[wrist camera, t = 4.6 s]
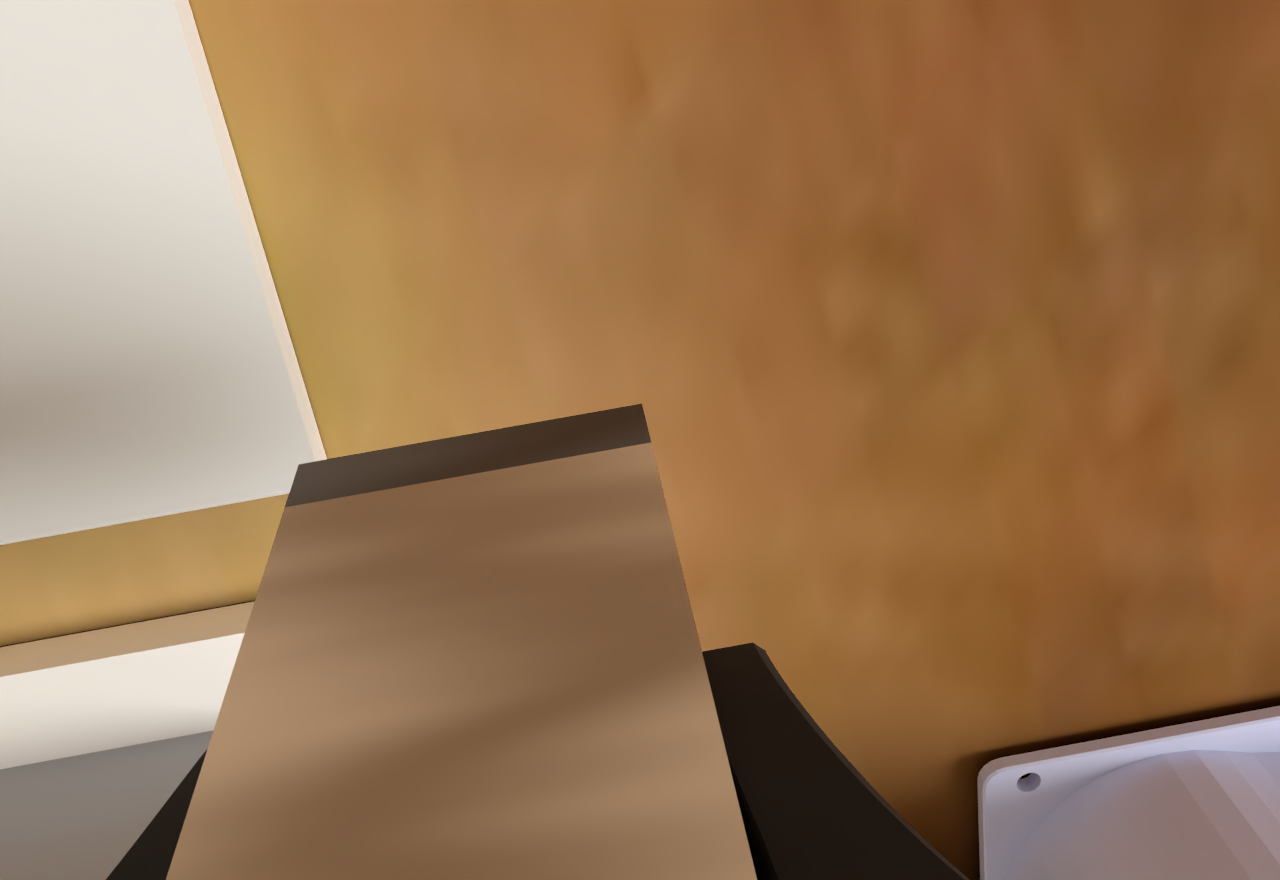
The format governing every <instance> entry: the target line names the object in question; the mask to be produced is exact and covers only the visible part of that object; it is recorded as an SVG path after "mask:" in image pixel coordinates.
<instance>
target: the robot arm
mask: <svg viewBox="0 0 1280 880" xmlns="http://www.w3.org/2000/svg"><path fill="white" fill-rule="evenodd" d="M702 654H703V658H704V663H705V667H706V671H707V675H708V679H709V683H710V687H711V691H712V696H713V700H714V704H715V708H716V712H717V716H718V720H719V724H720V728H721V733H722V737H723V741H724V745H725V749H726V753H727V757H728V761H729V766H730V770H731V774H732V778H733V782H734V786H735V790H736V794H737V799H738V803H739V807H740V811H741V815H742V819H743V823H744V827H745V832H746V836H747V840H748V844H749V848H750V852H751V856H752V860H753V865H754V869H755V873H756V877H757V880H970V879H968V878H967V877H966V876H965V875H964V874H963V873H961V872H960V871H959V870H958V869H957V868H956V867H955V866H953V865H952V864H951V863H950V862H949V861H948V860H947V859H946V858H945V857H943V856H942V855H941V854H940V853H939V852H938V851H937V850H936V849H935V848H934V847H933V846H931V845H930V844H929V843H928V842H927V841H926V840H925V839H924V838H923V837H922V836H921V835H920V834H919V833H918V832H917V831H916V830H915V829H914V828H913V827H912V826H911V825H910V824H909V823H907V822H906V821H905V820H904V819H903V818H902V817H901V816H900V815H899V814H898V813H897V812H896V811H895V810H894V809H893V808H892V807H891V806H890V805H889V804H888V803H887V802H886V801H885V800H884V799H883V798H882V797H881V796H880V794H879V793H878V792H877V791H876V790H875V789H874V788H873V787H872V786H871V785H870V784H869V783H868V782H867V781H866V780H865V778H864V777H863V776H862V775H861V774H860V773H859V772H858V771H857V770H856V768H855V767H854V766H853V765H852V764H851V763H850V762H849V761H848V760H847V759H846V757H845V756H844V755H843V754H842V753H841V752H840V751H839V750H838V749H837V747H836V746H835V745H834V744H833V743H832V742H831V740H830V739H829V738H828V737H827V736H826V735H825V733H824V732H823V731H822V730H821V729H820V727H819V726H818V725H817V724H816V722H815V721H814V720H813V719H812V717H811V716H810V715H809V713H808V712H807V711H806V710H805V708H804V707H803V706H802V705H801V703H800V702H799V701H798V699H797V698H796V697H795V695H794V694H793V693H792V691H791V690H790V689H789V687H788V686H787V684H786V683H785V682H784V680H783V679H782V677H781V676H780V674H779V673H778V671H777V670H776V668H775V667H774V665H773V664H772V662H771V660H770V659H769V657H768V655H767V653H766V651H765V650H763V649H762V648H760V647H759V646H757V645H756V644H754V643H748V644H743V645H737V646H732V647H726V648H721V649H715V650H710V651H704V652H702ZM207 749H208V748H207ZM206 752H207V750H206V751H205V752H204V753H203V755H202V756H201V757H200V758H199V760H198V761H197V762H196V764H195V765H194V766H193V767H192V769H191V770H190V771H189V773H188V774H187V775H186V777H185V778H184V779H183V780H182V782H181V783H180V784H179V786H178V787H177V788H176V790H175V791H174V792H173V794H172V795H171V796H170V797H169V799H168V800H167V801H166V803H165V804H164V805H163V807H162V808H161V809H160V811H159V812H158V813H157V814H156V816H155V817H154V818H153V820H152V821H151V822H150V824H149V825H148V826H147V827H146V829H145V830H144V831H143V833H142V834H141V835H140V837H139V838H138V839H137V840H136V842H135V843H134V844H133V846H132V847H131V848H130V849H129V851H128V852H127V853H126V855H125V856H124V857H123V858H122V860H121V861H120V862H119V863H118V865H117V866H116V867H115V868H114V870H113V871H112V872H111V873H110V875H109V876H108V877H107V879H106V880H166V877H167V874H168V871H169V868H170V865H171V862H172V859H173V856H174V852H175V849H176V846H177V843H178V840H179V837H180V834H181V831H182V827H183V824H184V821H185V818H186V815H187V812H188V809H189V806H190V802H191V799H192V796H193V793H194V790H195V787H196V784H197V781H198V777H199V774H200V771H201V768H202V765H203V762H204V759H205V756H206ZM1027 773H1031V774H1030V775H1029V776H1028V777H1026V778H1023V779H1019V778H1020V777H1022V776H1023V775H1025V774H1027ZM977 784H978V820H979V856H980V880H1280V706H1275V707H1270V708H1264V709H1259V710H1254V711H1248V712H1243V713H1238V714H1232V715H1227V716H1221V717H1216V718H1211V719H1205V720H1200V721H1195V722H1189V723H1184V724H1179V725H1173V726H1168V727H1162V728H1157V729H1152V730H1146V731H1141V732H1136V733H1130V734H1125V735H1120V736H1114V737H1109V738H1103V739H1098V740H1093V741H1087V742H1082V743H1077V744H1071V745H1066V746H1061V747H1055V748H1050V749H1044V750H1039V751H1034V752H1028V753H1023V754H1018V755H1012V756H1007V757H1002V758H998V759H995V760H992V761H990V762H989V763H987V764H986V765H984V766H983V768H982V769H981V770H980V772H979V775H978V779H977Z"/></svg>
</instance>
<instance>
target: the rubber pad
mask: <svg viewBox="0 0 1280 880" xmlns="http://www.w3.org/2000/svg"><path fill="white" fill-rule="evenodd" d="M326 459H327V458H326V454H325V451H324V448H323V444H322V441H321V438H320V435H319V431H318V428H317V425H316V421H315V418H314V415H313V411H312V408H311V405H310V401H309V398H308V395H307V392H306V388H305V385H304V382H303V378H302V375H301V372H300V368H299V365H298V362H297V358H296V355H295V352H294V349H293V345H292V342H291V339H290V335H289V332H288V329H287V325H286V322H285V319H284V315H283V312H282V309H281V305H280V302H279V299H278V296H277V292H276V289H275V286H274V282H273V279H272V276H271V272H270V269H269V266H268V262H267V259H266V256H265V253H264V249H263V246H262V243H261V239H260V236H259V233H258V229H257V226H256V223H255V219H254V216H253V213H252V210H251V206H250V203H249V200H248V196H247V193H246V190H245V186H244V183H243V180H242V176H241V173H240V170H239V167H238V163H237V160H236V157H235V153H234V150H233V147H232V143H231V140H230V137H229V133H228V130H227V127H226V123H225V120H224V117H223V114H222V110H221V107H220V104H219V100H218V97H217V94H216V90H215V87H214V84H213V80H212V77H211V74H210V71H209V67H208V64H207V61H206V57H205V54H204V51H203V47H202V44H201V41H200V37H199V34H198V31H197V28H196V24H195V21H194V18H193V14H192V11H191V8H190V4H189V1H188V0H0V545H3V544H9V543H14V542H20V541H26V540H31V539H37V538H42V537H48V536H54V535H59V534H65V533H70V532H76V531H81V530H87V529H93V528H98V527H104V526H109V525H115V524H121V523H126V522H132V521H137V520H143V519H149V518H154V517H160V516H165V515H171V514H177V513H182V512H188V511H193V510H199V509H204V508H210V507H216V506H221V505H227V504H232V503H238V502H244V501H249V500H255V499H260V498H266V497H272V496H277V495H283V494H288V493H290V490H291V487H292V484H293V480H294V477H295V474H296V471H297V468H298V465H299V464H304V463H309V462H315V461H321V460H326Z"/></svg>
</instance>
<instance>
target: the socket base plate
mask: <svg viewBox="0 0 1280 880" xmlns="http://www.w3.org/2000/svg"><path fill="white" fill-rule="evenodd" d="M254 602H255V601H254ZM254 602H249V603H243V604H238V605H232V606H227V607H221V608H215V609H210V610H204V611H199V612H193V613H188V614H182V615H177V616H171V617H166V618H160V619H155V620H149V621H144V622H138V623H132V624H127V625H121V626H116V627H110V628H105V629H99V630H94V631H88V632H83V633H77V634H72V635H66V636H61V637H55V638H50V639H44V640H38V641H33V642H27V643H22V644H16V645H11V646H5V647H0V880H106V879H107V877H108V876H109V875H110V873H111V872H112V871H113V870H114V868H115V867H116V866H117V865H118V863H119V862H120V861H121V860H122V858H123V857H124V856H125V855H126V853H127V852H128V851H129V849H130V848H131V847H132V846H133V844H134V843H135V842H136V840H137V839H138V838H139V837H140V835H141V834H142V833H143V831H144V830H145V829H146V827H147V826H148V825H149V824H150V822H151V821H152V820H153V818H154V817H155V816H156V814H157V813H158V812H159V811H160V809H161V808H162V807H163V805H164V804H165V803H166V801H167V800H168V799H169V797H170V796H171V795H172V794H173V792H174V791H175V790H176V788H177V787H178V786H179V784H180V783H181V782H182V780H183V779H184V778H185V777H186V775H187V774H188V773H189V771H190V770H191V769H192V767H193V766H194V765H195V764H196V762H197V761H198V760H199V758H200V757H201V756H202V755H203V753H204V752H205V751H206V750H207V748H208V746H209V743H210V740H211V737H212V734H213V731H214V727H215V724H216V721H217V718H218V715H219V712H220V709H221V706H222V702H223V699H224V696H225V693H226V690H227V687H228V684H229V681H230V677H231V674H232V671H233V668H234V665H235V662H236V659H237V656H238V652H239V649H240V646H241V643H242V640H243V637H244V634H245V631H246V627H247V624H248V621H249V618H250V615H251V612H252V609H253V606H254Z"/></svg>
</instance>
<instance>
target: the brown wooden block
mask: <svg viewBox="0 0 1280 880" xmlns="http://www.w3.org/2000/svg"><path fill="white" fill-rule="evenodd" d="M166 880H757V877H756V873H755V869H754V865H753V860H752V856H751V852H750V848H749V844H748V840H747V836H746V832H745V827H744V823H743V819H742V815H741V811H740V807H739V803H738V799H737V794H736V790H735V786H734V782H733V778H732V774H731V770H730V766H729V761H728V757H727V753H726V749H725V745H724V741H723V737H722V733H721V728H720V724H719V720H718V716H717V712H716V708H715V704H714V700H713V696H712V691H711V687H710V683H709V679H708V675H707V671H706V667H705V663H704V658H703V654H702V650H701V646H700V642H699V638H698V634H697V630H696V625H695V621H694V617H693V613H692V609H691V605H690V601H689V597H688V592H687V588H686V584H685V580H684V576H683V572H682V568H681V564H680V559H679V555H678V551H677V547H676V543H675V539H674V535H673V531H672V526H671V522H670V518H669V514H668V510H667V506H666V502H665V498H664V493H663V489H662V485H661V481H660V477H659V473H658V469H657V465H656V460H655V456H654V452H653V448H652V444H651V440H650V436H649V432H648V427H647V423H646V419H645V415H644V411H643V407H642V404H638V405H632V406H627V407H621V408H615V409H610V410H604V411H598V412H593V413H587V414H581V415H576V416H570V417H564V418H559V419H553V420H547V421H542V422H536V423H530V424H525V425H519V426H513V427H508V428H502V429H496V430H491V431H485V432H479V433H474V434H468V435H462V436H457V437H451V438H445V439H440V440H434V441H428V442H423V443H417V444H411V445H406V446H400V447H394V448H389V449H383V450H377V451H372V452H366V453H360V454H355V455H349V456H343V457H338V458H332V459H326V460H321V461H315V462H309V463H304V464H299V465H298V468H297V471H296V474H295V477H294V480H293V484H292V487H291V490H290V493H289V496H288V499H287V502H286V505H285V509H284V512H283V515H282V518H281V521H280V524H279V527H278V530H277V534H276V537H275V540H274V543H273V546H272V549H271V552H270V556H269V559H268V562H267V565H266V568H265V571H264V574H263V577H262V581H261V584H260V587H259V590H258V593H257V596H256V599H255V602H254V606H253V609H252V612H251V615H250V618H249V621H248V624H247V627H246V631H245V634H244V637H243V640H242V643H241V646H240V649H239V652H238V656H237V659H236V662H235V665H234V668H233V671H232V674H231V677H230V681H229V684H228V687H227V690H226V693H225V696H224V699H223V702H222V706H221V709H220V712H219V715H218V718H217V721H216V724H215V727H214V731H213V734H212V737H211V740H210V743H209V746H208V749H207V752H206V756H205V759H204V762H203V765H202V768H201V771H200V774H199V777H198V781H197V784H196V787H195V790H194V793H193V796H192V799H191V802H190V806H189V809H188V812H187V815H186V818H185V821H184V824H183V827H182V831H181V834H180V837H179V840H178V843H177V846H176V849H175V852H174V856H173V859H172V862H171V865H170V868H169V871H168V874H167V877H166Z"/></svg>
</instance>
